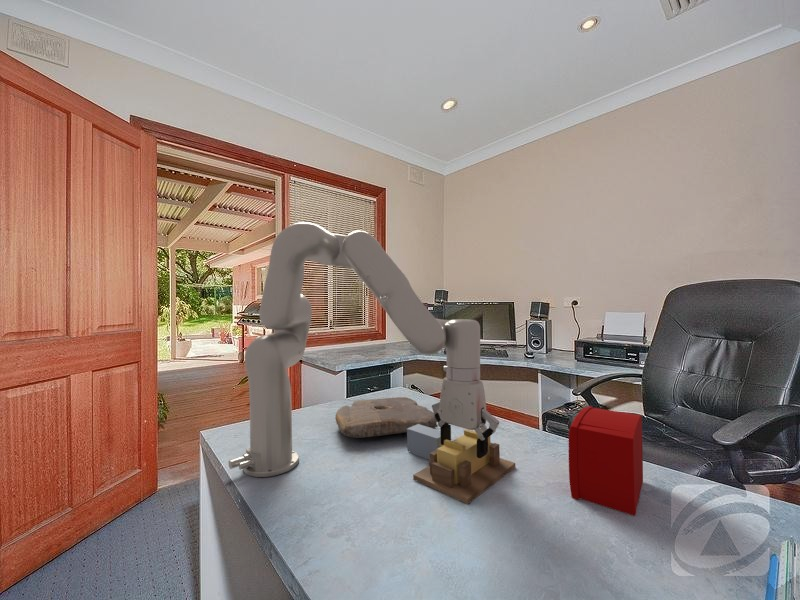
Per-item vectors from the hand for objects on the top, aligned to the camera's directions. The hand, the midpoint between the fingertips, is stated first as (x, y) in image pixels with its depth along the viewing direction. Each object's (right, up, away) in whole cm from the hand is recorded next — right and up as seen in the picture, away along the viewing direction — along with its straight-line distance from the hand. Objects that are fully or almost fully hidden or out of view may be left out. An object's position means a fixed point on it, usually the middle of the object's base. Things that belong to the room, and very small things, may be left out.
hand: (463, 449), depth 79 cm
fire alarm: (+28, -5, -7) cm, 30 cm away
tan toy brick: (+1, -4, 0) cm, 4 cm away
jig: (+1, -5, 0) cm, 5 cm away
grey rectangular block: (-7, -6, +10) cm, 14 cm away
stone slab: (-20, -6, +31) cm, 38 cm away
